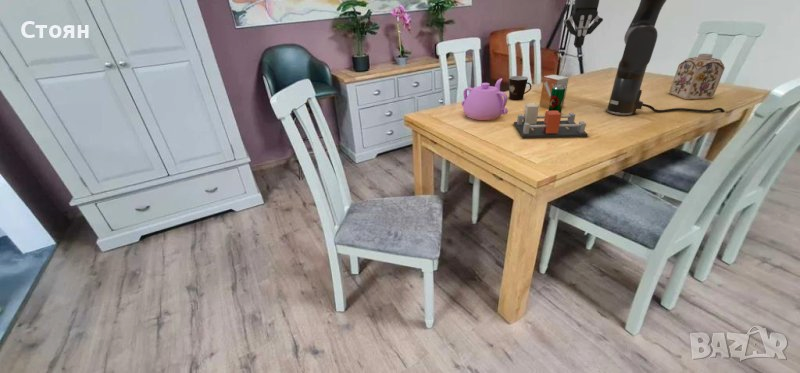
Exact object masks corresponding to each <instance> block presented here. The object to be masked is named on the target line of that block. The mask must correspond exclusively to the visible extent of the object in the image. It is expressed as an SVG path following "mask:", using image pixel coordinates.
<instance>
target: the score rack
mask: <svg viewBox="0 0 800 373" xmlns="http://www.w3.org/2000/svg"><path fill="white" fill-rule="evenodd" d="M525 118H526V116H524V114H521V113H519V114H517V118H516V121H514V122H513V126H514V128H515V129H516V130H517V132H518V134H519V135H520V137H521V138H522V139H564V138H565V139H567V138H568V139H569V138H588V133H587V132H586V127H587V126H586V125H587V123H586V122H585V121H582V120H580V121H578V123H576V122H575V118H576V114H575V113H574V112H568V114H561V119H567V120H560V125H559V130H558V133H545V131H546V130H543V128H546V125H543V124H544V120H540V119H544V118H545V115H538V116H537V123H536V124H529V123H525V122H523V119H525ZM538 119H539V120H538Z"/></svg>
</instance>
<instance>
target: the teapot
mask: <svg viewBox="0 0 800 373" xmlns="http://www.w3.org/2000/svg"><path fill="white" fill-rule="evenodd" d="M502 82H503V77H501V78H498V80H496V83H495V84H494V86H493V85H492V86H491V85H490V82H481V83H480V85H479V86H474V87H471V86H469V87H466V88H465V89H464V90H463V92H462V93H463V94H462V95H463V101H462V102H461V106H462V111H463V113H464V114H465V115H466V116H467V117H468V118H470V119H473V120H478V121H489V120H495V119H496V120H497V119H498V118H500V117H501V116H502V115H503V116H505V115H507V114H508V112H509V110H508V108H507V107H506V105H507V102H508V99H509V96H508V94H507V92H504V91H501V83H502ZM468 91H469V92H468Z"/></svg>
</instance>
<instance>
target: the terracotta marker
mask: <svg viewBox="0 0 800 373" xmlns="http://www.w3.org/2000/svg"><path fill="white" fill-rule="evenodd" d="M561 115H562V112H561V113H559V112H558V111H548V110H545V112H544V116H545V118H543V121H544V124H543V125H546V128H543V130H546V131H545V133H558V130H559V125H560V121H562V118H561Z"/></svg>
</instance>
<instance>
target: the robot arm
mask: <svg viewBox="0 0 800 373" xmlns="http://www.w3.org/2000/svg"><path fill="white" fill-rule="evenodd" d="M666 3H667V0H640V2H639V5H638V7H637V10H636V12H635V13H634V16H633V18H632V20H631V21H630V24H629V26H628V28H627V30H626V31H625V34H624V39H623V40H624V41H623V42H624V49H623V53H622V56H621V59H620V61H619V63H618V66H617V69H616V74H615V77H614V81H613V86H612V89H611V93H610V97H609V101H608V105H607V108H606V112H607V113H608V114H610V115H614V116H622V117H623V116H631V115H636V113H637V110H642V108H643V107H645V108H648V109H650V110H651V111H653V112H655V113H669V112H676V111H680V112H681V111H683V112H694V113H714V112H717V111H719V112H721V113H725V112H726V111H725V109H724V108H722V107H716V108H713V109H697V108H685V107H674V108H667V109H656V108H655V107H654V106H652V105H650V104H646V103H644V102H643V101H641V100H640V99H641V95H642V92H643V89H641V87H642V83H643V81H644V77H645V75H646V70H647V67H648V64H649V63H650V62H651V59H652V56H653V53H654V50H655V47H656V44H657V40H658V36H659V35H658V30H657V28H656V23H657V20H658V18H659V15H660V13H661V11H662V9H663V7H664V5H665V4H666ZM599 4H600V0H574V3H573V11H572V13H571V15H570V16H569V17H568V18H567V19H564V20H563V23H564V25H565V27H566V29H567V30H568V32H569V34H570V35H573V36H574V40H573V46H574V48H576V49H579V48H582V46H584V42H585V38H586V36H587V35H591V34H592V33H593V32H594V31H595V30H596V29H597V28H598V27H599V26H600V24H602V22H603V21H604V18H603V17H600V16H599V15H598V14H599V12H598V8H599ZM573 23H574V25H575V28H574V26H573Z"/></svg>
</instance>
